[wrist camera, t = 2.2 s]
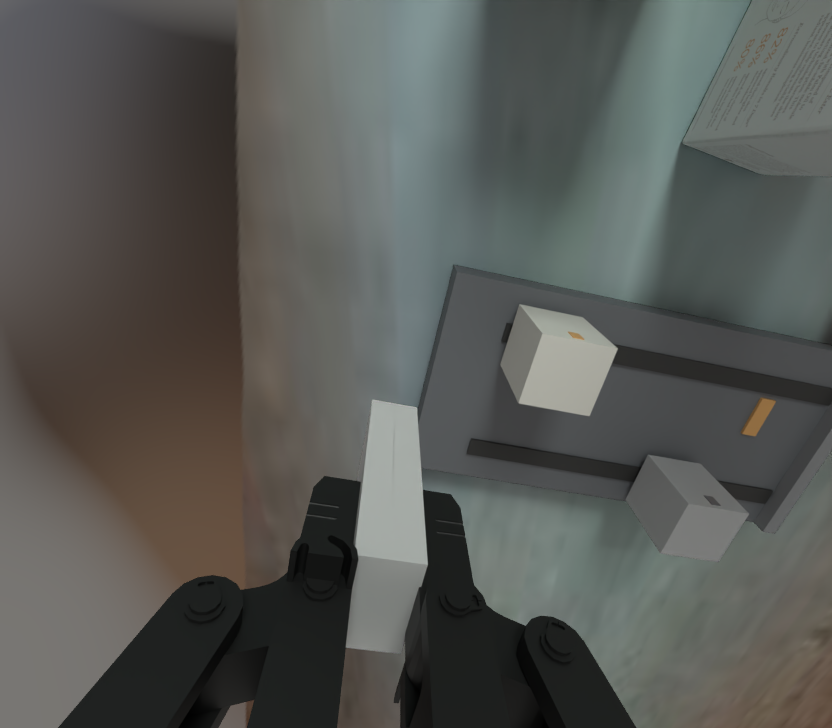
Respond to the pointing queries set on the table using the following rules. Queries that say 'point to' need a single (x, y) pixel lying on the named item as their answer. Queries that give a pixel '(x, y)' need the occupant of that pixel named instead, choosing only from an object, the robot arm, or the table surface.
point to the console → (628, 400)
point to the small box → (773, 92)
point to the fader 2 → (685, 509)
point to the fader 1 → (556, 360)
